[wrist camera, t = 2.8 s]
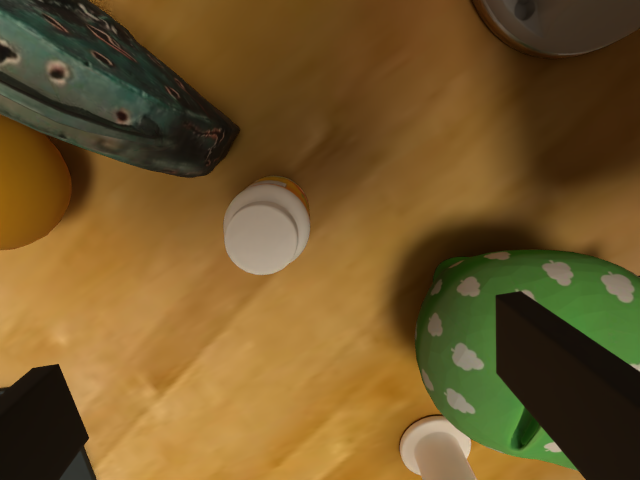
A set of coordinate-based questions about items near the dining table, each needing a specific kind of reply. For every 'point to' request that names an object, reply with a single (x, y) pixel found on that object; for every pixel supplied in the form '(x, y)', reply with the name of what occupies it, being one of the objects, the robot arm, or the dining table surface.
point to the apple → (29, 185)
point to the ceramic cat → (104, 90)
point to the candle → (436, 450)
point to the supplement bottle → (267, 225)
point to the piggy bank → (480, 336)
